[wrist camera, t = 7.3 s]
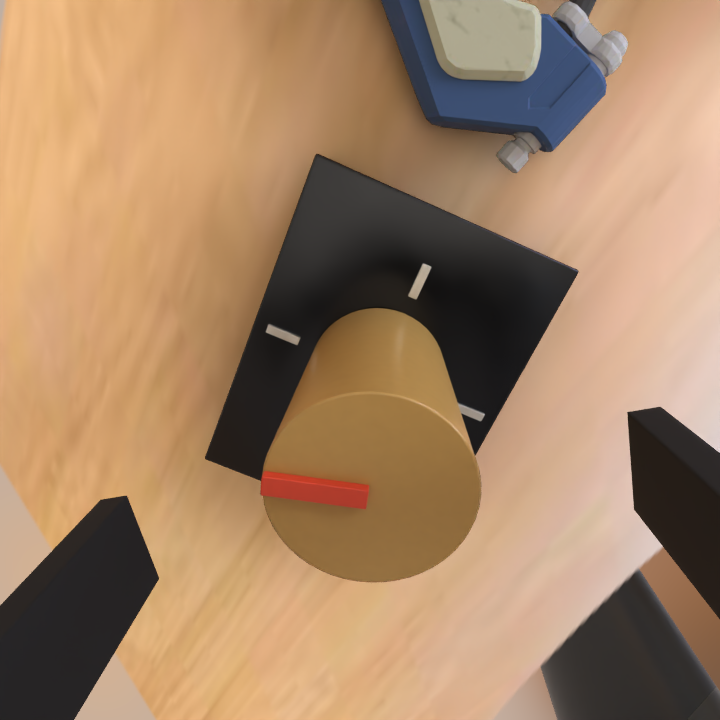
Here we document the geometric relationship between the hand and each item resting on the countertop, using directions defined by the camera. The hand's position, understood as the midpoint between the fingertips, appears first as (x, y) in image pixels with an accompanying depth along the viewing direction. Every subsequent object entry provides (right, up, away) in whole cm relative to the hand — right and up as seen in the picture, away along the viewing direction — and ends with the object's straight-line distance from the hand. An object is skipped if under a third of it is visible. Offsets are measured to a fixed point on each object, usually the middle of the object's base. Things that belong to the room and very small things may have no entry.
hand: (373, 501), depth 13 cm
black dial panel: (+1, +4, +11) cm, 12 cm away
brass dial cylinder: (0, +3, +8) cm, 9 cm away
